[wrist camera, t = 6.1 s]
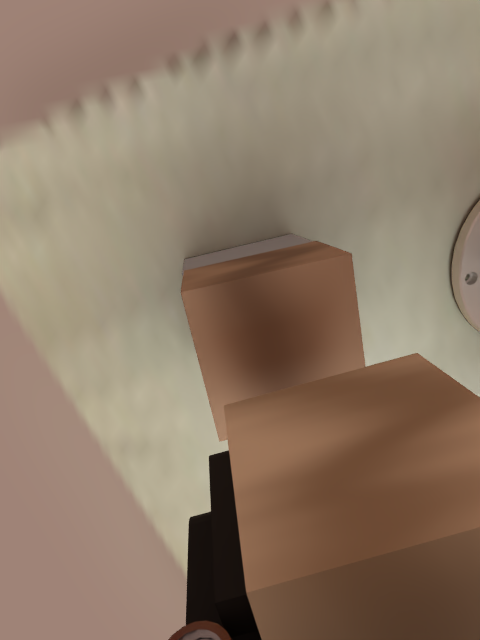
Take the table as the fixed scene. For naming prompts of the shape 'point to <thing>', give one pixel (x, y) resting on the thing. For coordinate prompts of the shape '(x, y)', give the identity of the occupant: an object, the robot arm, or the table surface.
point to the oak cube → (361, 505)
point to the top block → (272, 322)
